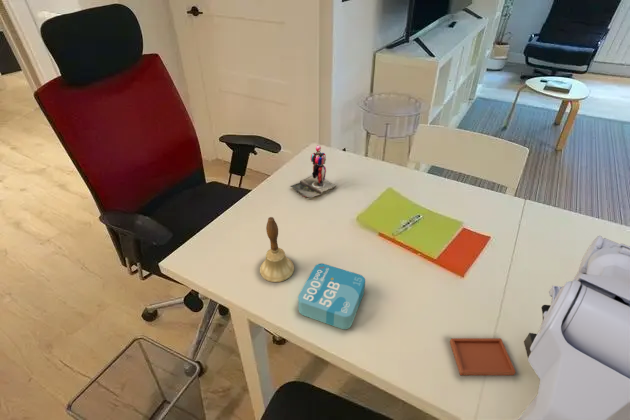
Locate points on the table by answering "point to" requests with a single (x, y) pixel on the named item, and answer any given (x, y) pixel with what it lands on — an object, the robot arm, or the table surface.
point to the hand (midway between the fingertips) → (549, 350)
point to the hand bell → (275, 258)
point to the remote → (529, 342)
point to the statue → (315, 177)
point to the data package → (332, 296)
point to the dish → (481, 356)
